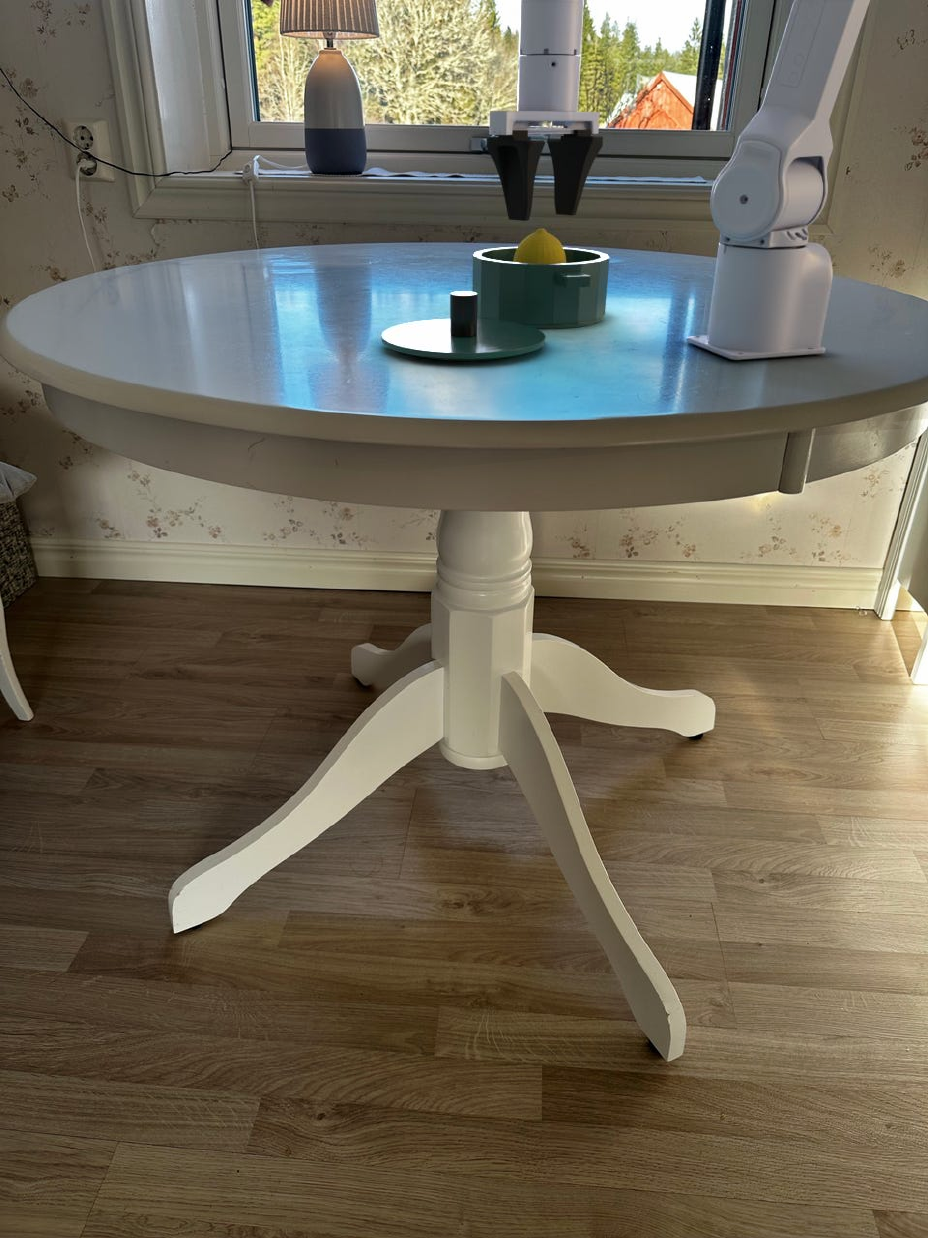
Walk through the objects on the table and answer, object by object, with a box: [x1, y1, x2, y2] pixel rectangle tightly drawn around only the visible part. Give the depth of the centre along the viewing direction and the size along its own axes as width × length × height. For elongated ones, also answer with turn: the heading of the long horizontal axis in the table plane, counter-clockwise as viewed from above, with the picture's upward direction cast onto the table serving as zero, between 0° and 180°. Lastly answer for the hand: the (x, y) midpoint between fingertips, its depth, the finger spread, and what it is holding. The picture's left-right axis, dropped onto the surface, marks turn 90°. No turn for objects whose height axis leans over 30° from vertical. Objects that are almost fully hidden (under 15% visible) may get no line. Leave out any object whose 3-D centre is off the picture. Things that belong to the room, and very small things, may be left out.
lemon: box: [513, 227, 566, 264], centre depth 94 cm, size 6×6×8 cm
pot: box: [471, 246, 610, 330], centre depth 94 cm, size 14×19×6 cm
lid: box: [381, 290, 547, 362], centre depth 81 cm, size 15×15×5 cm
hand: (542, 217), depth 91 cm, fingers open, 7 cm apart
